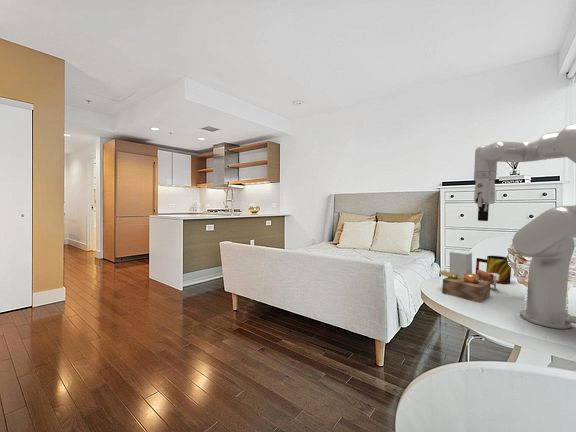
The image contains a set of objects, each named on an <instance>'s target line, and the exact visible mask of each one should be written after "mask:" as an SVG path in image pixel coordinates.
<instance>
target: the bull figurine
mask: <svg viewBox="0 0 576 432" xmlns="http://www.w3.org/2000/svg"><path fill="white" fill-rule="evenodd" d="M475 274H477V275H479V280H482V281H487V282H491V284H490V286H493V289H494V290H495V291H498V289H497V283H496V282H497V281H499V277H502V275H499V274H496V273H488V272H486V271H484V270H481V269H479V270H477V271H476V270H475Z"/></svg>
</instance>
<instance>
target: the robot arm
mask: <svg viewBox="0 0 576 432" xmlns="http://www.w3.org/2000/svg"><path fill="white" fill-rule="evenodd" d="M474 151H475V153H474V165H473V167H474V168H473V169H474V172H473V181H475V186H474V192H473V193H474V195H473V196H474V197H473V199H474V201H473V202H474V203H475V204H477V221H479V222H488V221H489V210H490V204H491V205H492V204H493V205H494V204H495V203H496V184H495V183H496V182H495V181H496V180H497V174H498V173H497V170H498V169H497V168H498V162H499V163H502V162H503V163H526V162H536V161H537V162H538V161H546V160H551V159H552V160H554V159H561V158H562V159H563V158H568V159H569V160H570V161H572V162H573V163H575V164H576V123H575V124H571V125H569V126H566V127H565V128H563V129H561V130H560V131H559V130H558V131H553V132H546V133H545V134H543V135H542V136H541V137H540V138H539V139H536V140H533V141H532V140H531V141H525V142H516V141H500V140H499V141H496V142H493V143H491V144H489V145H481V146H480V145H479V146H478V147H476V149H475V150H474ZM575 238H576V204H575V205H560V206H559V205H558V206H554V207H552V208H549V209H547V210H545V211H543V212H541V213H540V214H539V215H538V216H536V217H535V218H534V219H532V220H530V221H529V222H528V223H527V224H525V225H524V226H523V227H521V228H520V229H518V230H517V231H516V232H515V234H514V235H513V238H512V240H511V243H512V247H513V248H512V249H514V251H515V252H517V254H519V255H520V256H523V257H528V258H531V260H530V261H529V262H530V263H529V266H528V267H529V268H528V278H527V280H528V281H527V293H526V307H525V308H526V309H523V310H520V312H519V315H520V317H521V318H522V319H524V320H525V321H528V322H530V323H533V324H536V325H539V326H542V327H546V328H552V329H561V330H565V329H570V328H572V324H576V316H575V315H571V314H570V313H569V309H566V307H567V295H568V294H567V293H568V283H569V271H570V266H571V265H570V264H571V260H572V257H573V254H574V251H575V246H576V244H575Z"/></svg>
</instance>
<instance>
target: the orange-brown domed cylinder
mask: <svg viewBox="0 0 576 432" xmlns="http://www.w3.org/2000/svg"><path fill="white" fill-rule="evenodd" d="M464 281H465V282H467V283H473V284H477V283H478V281H479V275H477V274H476V273H473V272H472V273H464Z"/></svg>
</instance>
